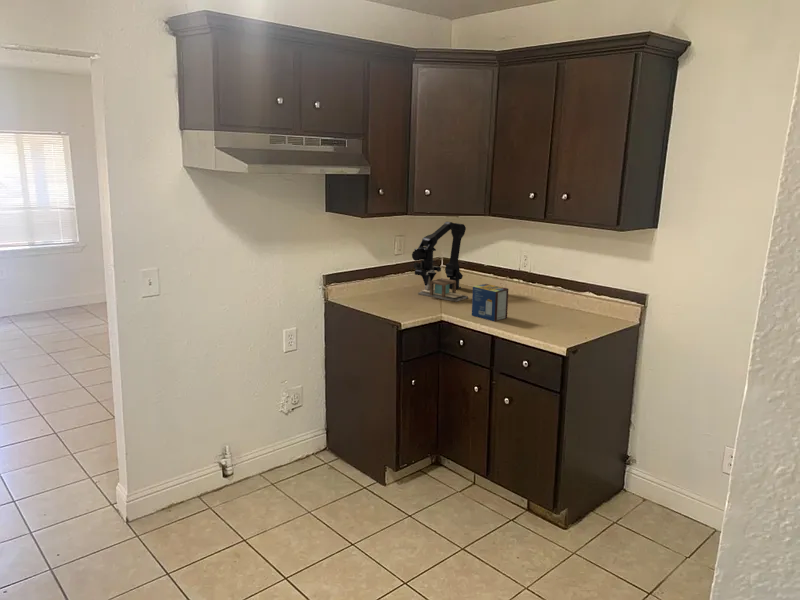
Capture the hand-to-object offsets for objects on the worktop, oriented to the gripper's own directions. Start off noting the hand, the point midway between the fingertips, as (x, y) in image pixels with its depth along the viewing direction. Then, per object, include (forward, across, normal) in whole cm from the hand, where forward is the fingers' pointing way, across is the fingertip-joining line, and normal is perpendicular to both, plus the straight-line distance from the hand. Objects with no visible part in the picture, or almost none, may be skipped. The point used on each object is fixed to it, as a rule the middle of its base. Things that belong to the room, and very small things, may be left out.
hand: (427, 284), depth 368 cm
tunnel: (+5, 0, +11) cm, 12 cm away
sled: (+4, 0, +10) cm, 11 cm away
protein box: (+5, +21, +55) cm, 59 cm away
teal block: (+3, 0, +10) cm, 11 cm away
